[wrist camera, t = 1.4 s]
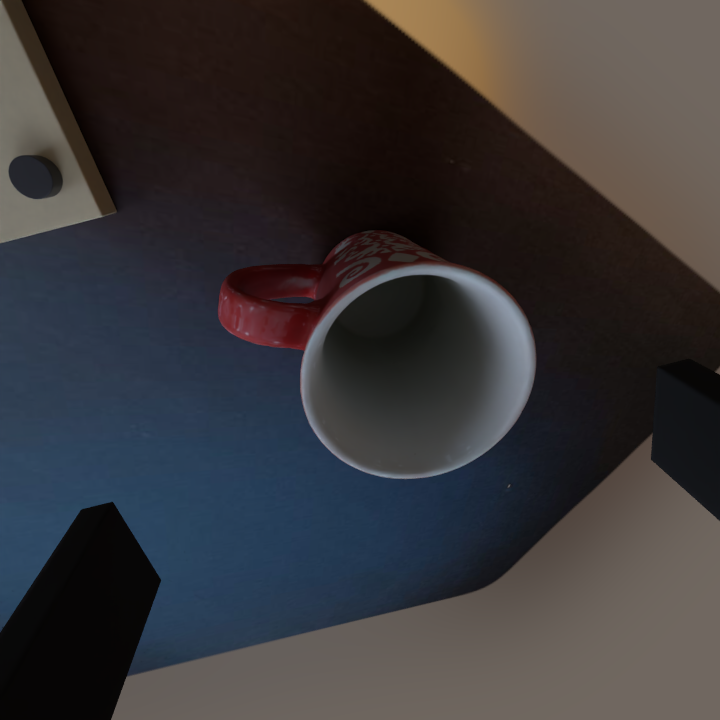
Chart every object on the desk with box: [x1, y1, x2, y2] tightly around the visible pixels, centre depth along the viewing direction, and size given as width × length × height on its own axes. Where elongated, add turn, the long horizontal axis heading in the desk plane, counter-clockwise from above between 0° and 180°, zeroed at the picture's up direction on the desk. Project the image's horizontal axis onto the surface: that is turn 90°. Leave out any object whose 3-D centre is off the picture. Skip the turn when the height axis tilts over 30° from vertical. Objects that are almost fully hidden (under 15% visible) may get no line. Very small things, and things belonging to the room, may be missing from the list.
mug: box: [218, 230, 536, 479], centre depth 22 cm, size 13×9×14 cm
